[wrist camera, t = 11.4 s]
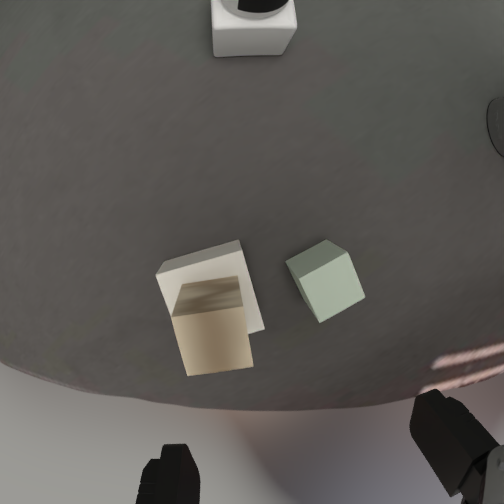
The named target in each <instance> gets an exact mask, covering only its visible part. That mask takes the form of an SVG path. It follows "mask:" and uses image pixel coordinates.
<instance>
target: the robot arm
mask: <svg viewBox="0 0 504 504" xmlns="http://www.w3.org/2000/svg"><path fill="white" fill-rule="evenodd" d="M487 121H488V129H489V133H490V137H491V140H492V142H493V144H494V146H495V148H496V149H497V151H498V152H499V153H500V154H501V155H502V156H503V157H504V97H503V98H497V99H494V100H493V101H492V102H491V103H490V105H489V108H488V114H487ZM410 433H411V436H412V438H413V439H414V441H415V442H416V444H417V446H418V447H419V449H420V450H421V452H422V453H423V455H424V456H425V458H426V460H427V461H428V462H429V464H430V466H431V467H432V469H433V470H434V472H435V474H436V475H437V477H438V478H439V480H440V482H441V483H442V485H443V486H444V488H445V489H446V491H447V492H448V494H449V496H450V497H452V496H454V495H456V494H458V493H460V492H461V493H462V495H463V498H462V501H461V504H504V445H499V444H498V443H497V442H496V440H495V439H494V438H493V437H492V436H491V435H490V434H489V432H488V431H487V430H486V429H485V428H484V427H483V426H482V425H481V423H480V422H479V421H478V420H477V419H475V417H474V416H473V415H472V414H471V413H469V410H468V409H467V408H466V407H465V406H464V405H463V404H462V403H461V402H460V401H458V400H456V399H454V398H452V397H448V398H445V397H444V396H443V395H442V393H441V392H440V391H439V390H437V389H433V390H430V391H428V392H425V393H423V394H420V395H418V396H417V397H416V398H415V402H414V407H413V411H412V416H411V420H410ZM140 483H141V484H140V485H139V490H138V492H139V494H138V495H137V499H136V504H199V501H200V475H199V471H198V468H197V466H196V463H195V461H194V459H193V457H192V455H191V453H190V450H189V448H188V446H187V445H186V444H164V446H163V447H162V451H161V457H160V459H151V460H150V461H149V462H148V464H147V465H146V466H145V468H144V469H143V472H142V476H141V481H140Z"/></svg>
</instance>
